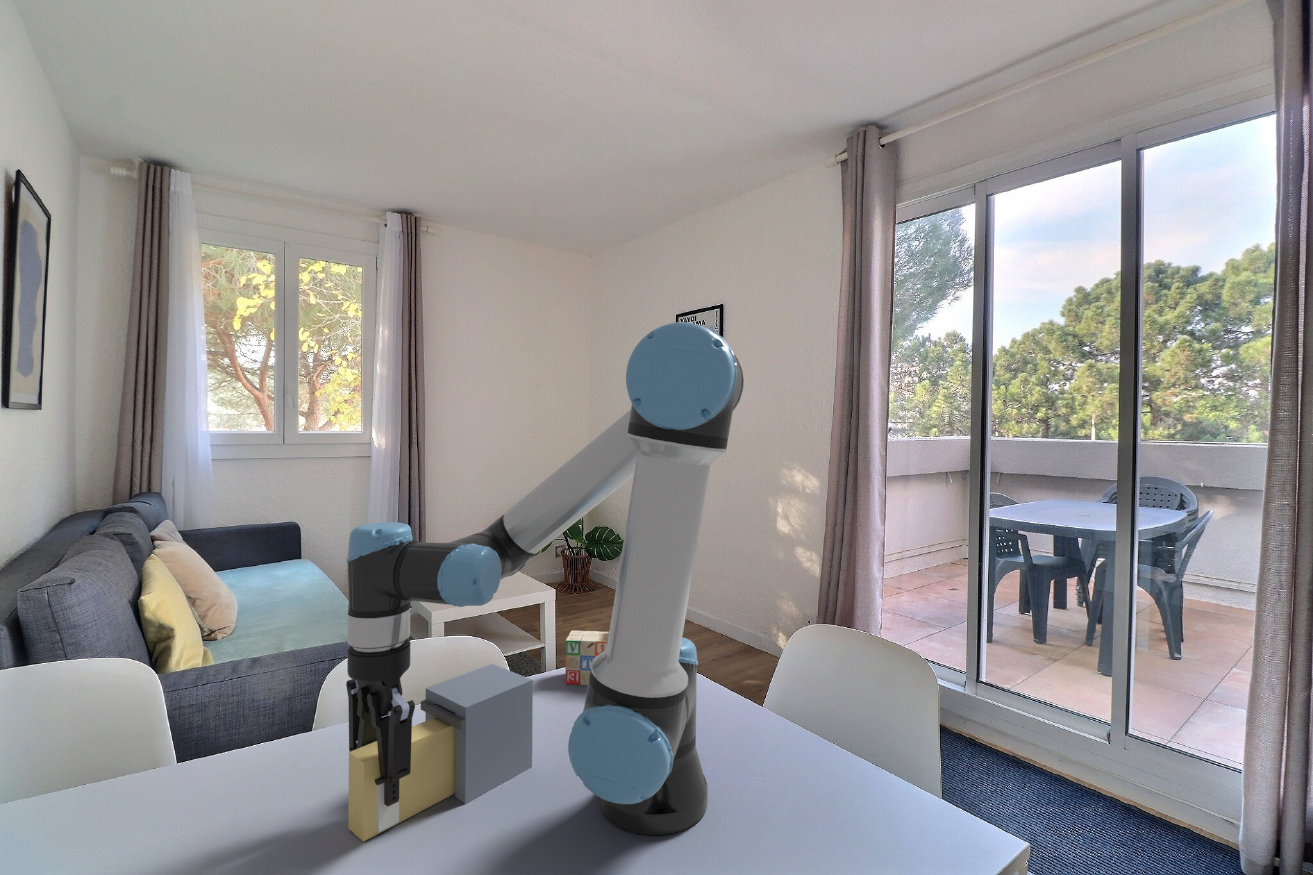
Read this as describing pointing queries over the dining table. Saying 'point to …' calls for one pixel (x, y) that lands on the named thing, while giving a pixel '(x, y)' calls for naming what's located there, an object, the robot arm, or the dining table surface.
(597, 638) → the stack of blocks
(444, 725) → the upright yellow slab
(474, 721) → the dispenser
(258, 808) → the dining table surface
